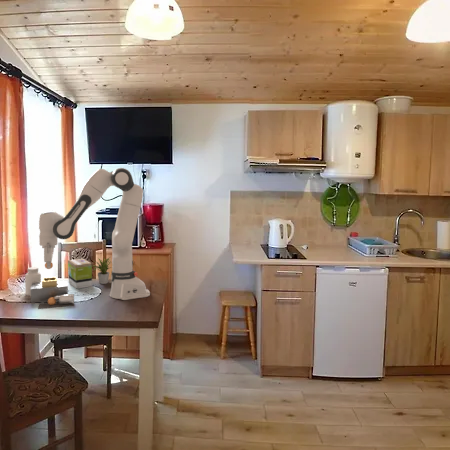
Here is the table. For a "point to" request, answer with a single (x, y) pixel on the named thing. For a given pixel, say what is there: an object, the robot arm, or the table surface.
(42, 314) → the table surface
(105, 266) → the house plant
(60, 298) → the spout can
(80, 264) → the tea box
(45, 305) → the mat
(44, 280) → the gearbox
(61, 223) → the robot arm
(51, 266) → the bead
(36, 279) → the pill bottle
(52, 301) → the bead
